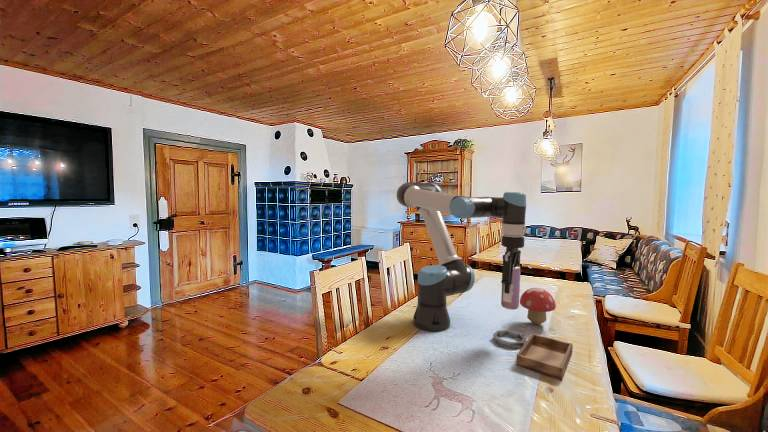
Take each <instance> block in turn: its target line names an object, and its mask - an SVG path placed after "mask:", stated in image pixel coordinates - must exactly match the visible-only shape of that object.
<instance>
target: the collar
mask: <svg viewBox="0 0 768 432" xmlns="http://www.w3.org/2000/svg"><path fill="white" fill-rule="evenodd" d="M492 336H493V337H492V340H493V341H494V342H495V343H496V344H497V345H498V346H501V347H504V348H507V349H514V350H515V349H521V348H522V347H523V346H524V344H525V343H526V341H527V340H528V339H527V337H525V336H524V335H523V334H522V333H520V332H516V331H512V330H509V329H508V330H507V329H506V330H503V329H501V330H496V331H495V332H494V333H493V334H492ZM500 337H510V338H514V339H518V340H519V341H514V342H513V341H509V340H505V339H502V338H500Z"/></svg>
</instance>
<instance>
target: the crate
mask: <svg viewBox="0 0 768 432" xmlns="http://www.w3.org/2000/svg"><path fill="white" fill-rule="evenodd" d="M573 347H574V346H573V343H571V342H567V341H563V340H560V339H556V338H552V337H547V336H544V335H540V334H537V333H531V335H530V336H529V337H528V339H527V341H526V343H525V344H524V346H523V347H522V348H520V350H519V351H518V352H517V353H516V359H515V360H516V362H515V363H516V364H515V366H516V367H518V368H522V369H525V370H529V371H531V372H535V373H536V374H537V373H538V374H541V375H544V376H547V377H550V378H553V379H556V380H558V381H559V380H560V381H563V379H564V377H565V374H566V372H567V368H568V366H569V363H570V361H571V359H572V355H573V349H574V348H573Z"/></svg>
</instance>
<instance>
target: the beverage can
mask: <svg viewBox="0 0 768 432" xmlns="http://www.w3.org/2000/svg"><path fill="white" fill-rule="evenodd" d="M511 284H512V302H511V303H510V302H505V301H503V290H504V283H501V296H500V298H501V299H500V305H501V307H502V308H503V309H505V310H513V311H514V310H517V309H519V306H520V293H521V292H520V288H521V265H520V266H514V267H513V274H512V283H511Z"/></svg>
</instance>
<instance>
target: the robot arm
mask: <svg viewBox="0 0 768 432" xmlns="http://www.w3.org/2000/svg"><path fill="white" fill-rule="evenodd" d="M502 196H503V197H501V196H500V197H495V196H477V197H475V196H464V195H458V194H453V193H447V192H446V193H444V192H443V191H442V189H441V187H440V186H439V185H437V184H436V183H432V182H415V181H409V182H408V181H407V182H405V183H402V184H401V185H400V186H399V187H398V188H397V190H396V199H397V201H398V203H399V204H400V205H402V206H403V207H406V208H415V209H416V211H417V214H419V215H420V216H422V218H423V222H424V223H425V227H426V230H427V232H428V235H429V237H430V240H431V244H432V246H433V249H434V252H435V254H436V257H437V260H438V262H439V263H438V264H433V265H426V266H423V267H421V268H420V269H419V270H418V273H417V281H416V282H417V305H416V308H415V311H414V314H413V316H412V317H413V318H412V324H413V325H414V326H415V328H417V329H420V330H423V331H427V332H442V331H446V330H448V329H450V327H451V318H450V314H449V312H448V309H447V297H450V296H454V295H459V294H464V293H465V292H466V293H467V292H469V291H470V290H472V288H473V287H474V283H475V280H476V277H475V272H474V269H473V268H472V267H471V266H470V265H468V264H466V263H465V262H464V259H463V258H462V257H460V256H459V255H458V253H457V252H456V251H457V250H456V248H455V246H454V243H453V241H452V237H451V235H450V233H449V230H448V228H447V225H446V221H445V219H444V217H443V214H442V213H444V214H449V215H452V216H453V218H456V219H463V220H465V219H474V218H475V219H476V218H479V219H480V218H501V220H502V223H501V234H502V236H501V246H502V247H504V248H506V250H505V251H504V254H503V255H502V268H501V269H502V272H501V273H502V274H501V281H500V283H501V284H502V283H504V290H503V301H505V302H510V303H511V302H512V284H511V283H512V274H513V267H514V266H520V267H521V253H522V251H521V250H520V249H522V248H524V247H525V237H524V236H525V232H526V230H527V227H526V211H527V194H526V193H525V192H520V191H519V192H514V191H513V192H512V191H510V192H509V191H505V192H504V193H503V195H502Z"/></svg>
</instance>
